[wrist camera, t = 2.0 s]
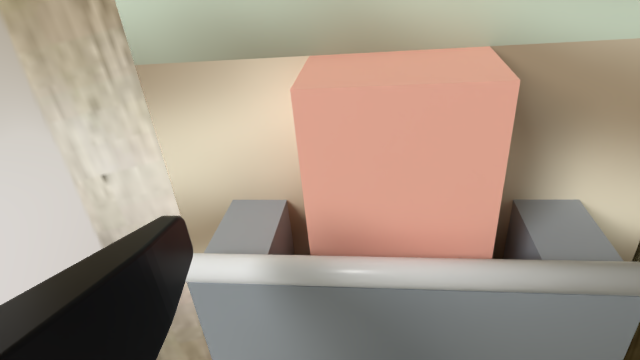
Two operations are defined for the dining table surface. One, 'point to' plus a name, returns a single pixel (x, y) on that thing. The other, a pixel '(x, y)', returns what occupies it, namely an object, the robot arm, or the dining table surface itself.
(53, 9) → the dining table surface
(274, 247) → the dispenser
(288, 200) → the board
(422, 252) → the pink eraser
